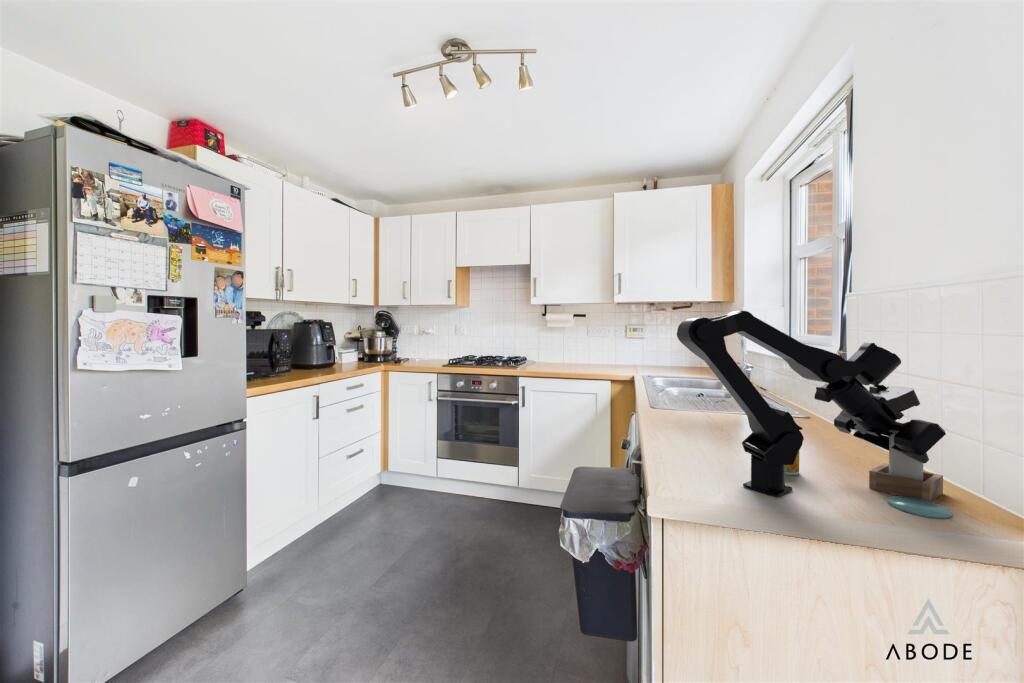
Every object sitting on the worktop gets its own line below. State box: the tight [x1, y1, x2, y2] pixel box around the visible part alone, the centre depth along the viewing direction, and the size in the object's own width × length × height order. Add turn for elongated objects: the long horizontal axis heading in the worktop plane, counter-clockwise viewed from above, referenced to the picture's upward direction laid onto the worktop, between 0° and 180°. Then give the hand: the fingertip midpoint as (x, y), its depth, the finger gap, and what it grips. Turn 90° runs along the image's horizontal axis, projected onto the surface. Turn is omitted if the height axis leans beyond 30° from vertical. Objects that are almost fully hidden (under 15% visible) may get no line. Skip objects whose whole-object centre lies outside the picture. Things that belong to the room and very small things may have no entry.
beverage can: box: [888, 434, 924, 481], centre depth 78 cm, size 5×5×12 cm
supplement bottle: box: [785, 450, 800, 476], centre depth 89 cm, size 5×5×10 cm
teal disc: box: [887, 495, 953, 519], centre depth 70 cm, size 8×8×1 cm
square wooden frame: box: [868, 463, 944, 502], centre depth 78 cm, size 9×9×4 cm
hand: (913, 457), depth 78 cm, fingers closed on beverage can, 5 cm apart
